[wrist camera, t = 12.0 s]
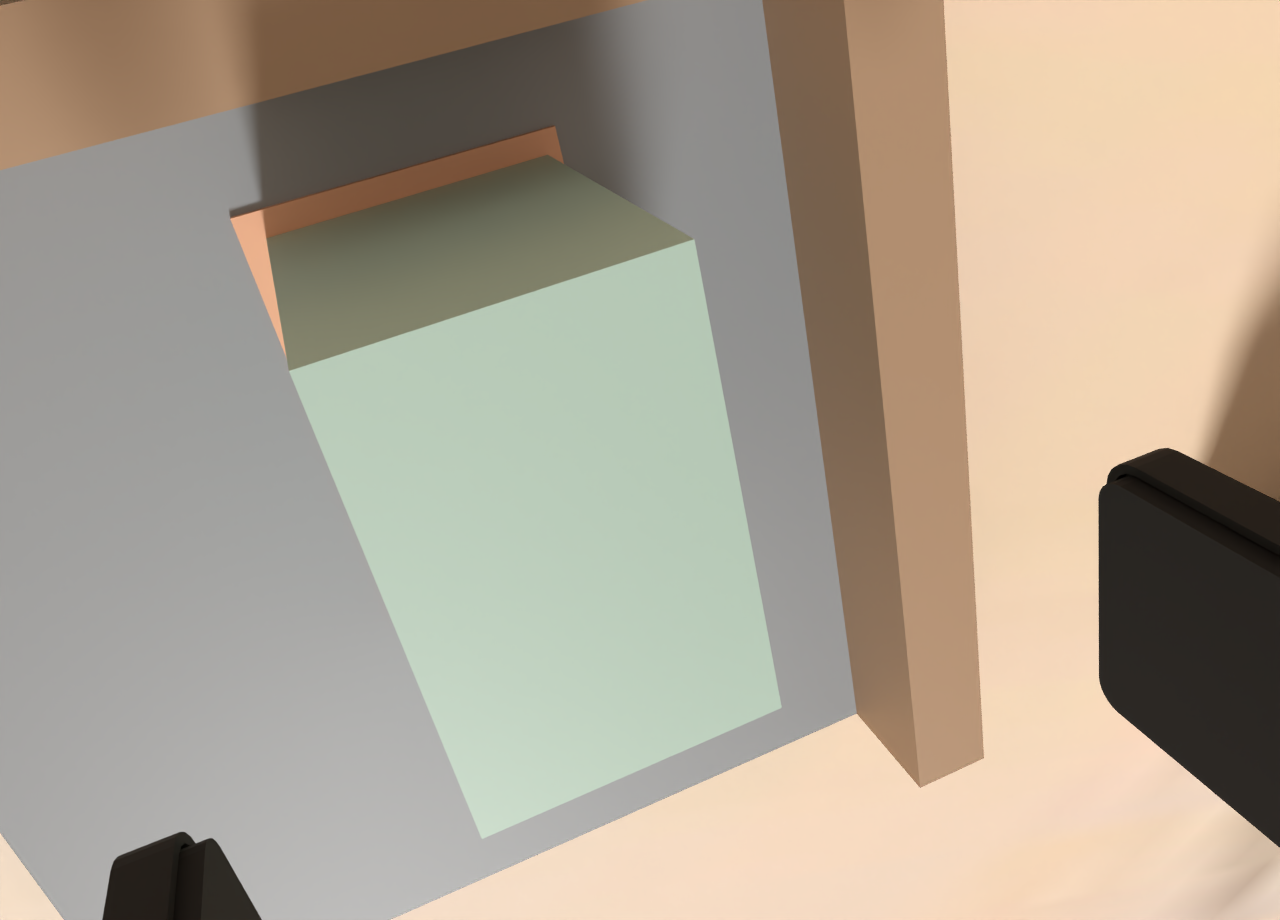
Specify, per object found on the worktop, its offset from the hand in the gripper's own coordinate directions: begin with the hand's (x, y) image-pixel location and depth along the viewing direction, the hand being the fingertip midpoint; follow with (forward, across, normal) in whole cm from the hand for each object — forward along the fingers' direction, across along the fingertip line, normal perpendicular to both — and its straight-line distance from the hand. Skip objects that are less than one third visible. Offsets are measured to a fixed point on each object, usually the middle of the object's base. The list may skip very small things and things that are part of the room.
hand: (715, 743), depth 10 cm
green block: (+9, +1, -1) cm, 9 cm away
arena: (+10, +2, +1) cm, 10 cm away
